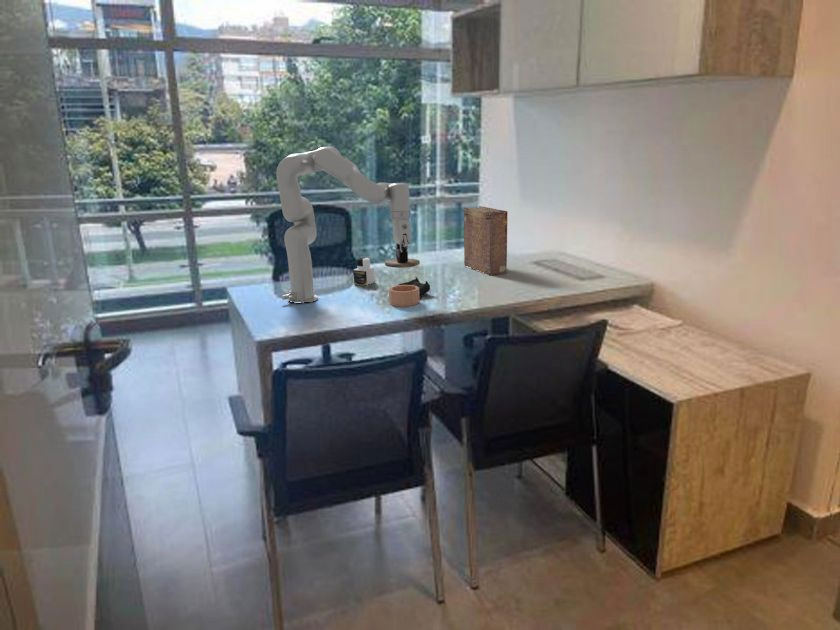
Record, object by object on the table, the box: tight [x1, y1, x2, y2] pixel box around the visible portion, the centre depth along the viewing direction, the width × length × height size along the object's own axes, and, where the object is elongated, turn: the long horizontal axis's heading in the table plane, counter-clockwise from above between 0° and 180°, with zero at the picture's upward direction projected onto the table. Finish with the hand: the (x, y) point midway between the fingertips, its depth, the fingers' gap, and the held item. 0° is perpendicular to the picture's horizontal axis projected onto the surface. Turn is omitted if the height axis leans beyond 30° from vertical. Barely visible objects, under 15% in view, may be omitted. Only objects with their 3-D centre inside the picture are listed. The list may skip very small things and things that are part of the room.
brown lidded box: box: [463, 205, 509, 276], centre depth 307 cm, size 25×9×30 cm, turn 26°
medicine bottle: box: [352, 256, 376, 286], centre depth 289 cm, size 7×7×12 cm
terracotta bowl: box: [388, 284, 420, 308], centre depth 255 cm, size 12×12×6 cm
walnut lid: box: [384, 249, 421, 269], centre depth 251 cm, size 14×14×6 cm
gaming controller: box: [398, 276, 431, 298], centre depth 269 cm, size 17×6×10 cm
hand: (402, 260), depth 251 cm, fingers closed on walnut lid, 4 cm apart
